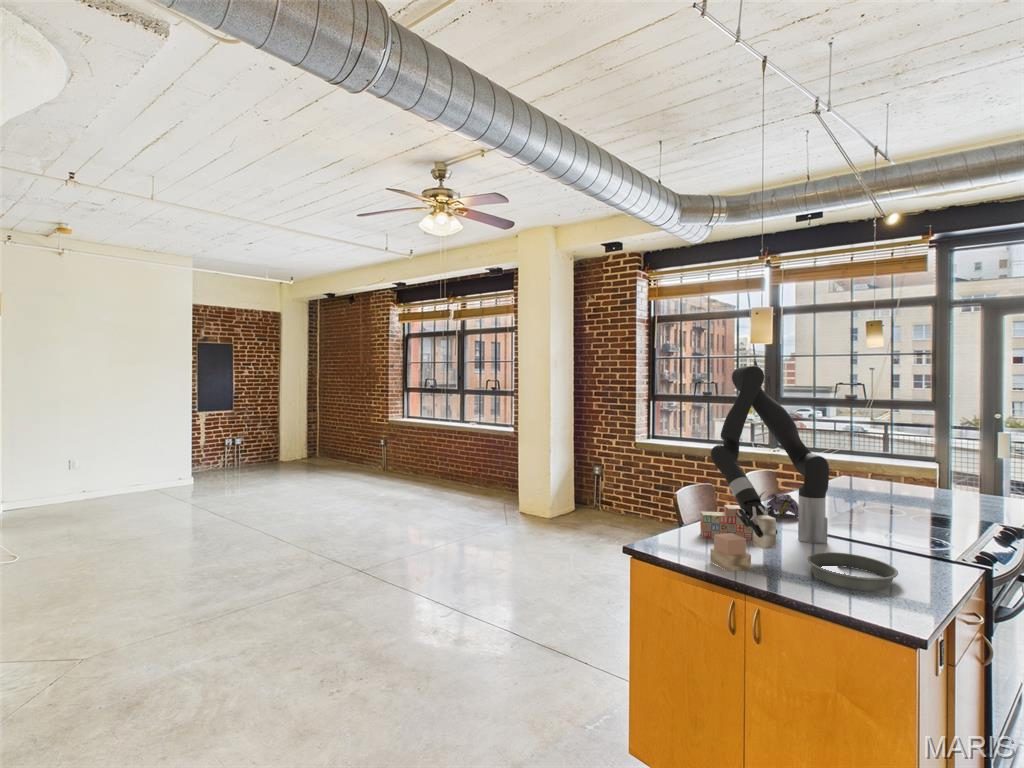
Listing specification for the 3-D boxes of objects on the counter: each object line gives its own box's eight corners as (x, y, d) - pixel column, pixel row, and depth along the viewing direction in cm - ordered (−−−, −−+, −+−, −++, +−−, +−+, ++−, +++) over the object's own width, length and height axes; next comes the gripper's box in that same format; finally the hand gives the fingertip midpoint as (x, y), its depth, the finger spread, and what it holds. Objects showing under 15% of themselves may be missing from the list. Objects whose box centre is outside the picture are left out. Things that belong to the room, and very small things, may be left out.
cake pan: (900, 599, 160) (900, 584, 160) (803, 582, 173) (803, 568, 173) (896, 573, 181) (896, 560, 181) (809, 560, 194) (810, 547, 194)
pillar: (765, 543, 195) (765, 514, 194) (775, 547, 190) (775, 518, 190) (753, 544, 193) (753, 515, 193) (763, 549, 189) (763, 519, 188)
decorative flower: (811, 497, 247) (779, 488, 246) (808, 523, 244) (776, 514, 243) (791, 499, 261) (761, 490, 260) (788, 524, 258) (758, 515, 257)
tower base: (732, 560, 193) (732, 546, 193) (750, 569, 185) (750, 554, 185) (710, 563, 191) (710, 548, 191) (727, 572, 182) (727, 556, 182)
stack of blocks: (702, 538, 219) (702, 507, 219) (700, 534, 225) (700, 503, 225) (760, 541, 215) (761, 509, 215) (756, 536, 222) (756, 505, 221)
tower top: (731, 547, 192) (731, 533, 192) (745, 553, 186) (745, 538, 185) (714, 549, 190) (714, 534, 190) (728, 555, 183) (728, 540, 183)
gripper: (732, 488, 197) (755, 531, 185) (766, 485, 200) (791, 528, 189) (722, 500, 202) (745, 543, 190) (756, 497, 206) (780, 539, 194)
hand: (768, 535), depth 190 cm, fingers closed on pillar, 5 cm apart
